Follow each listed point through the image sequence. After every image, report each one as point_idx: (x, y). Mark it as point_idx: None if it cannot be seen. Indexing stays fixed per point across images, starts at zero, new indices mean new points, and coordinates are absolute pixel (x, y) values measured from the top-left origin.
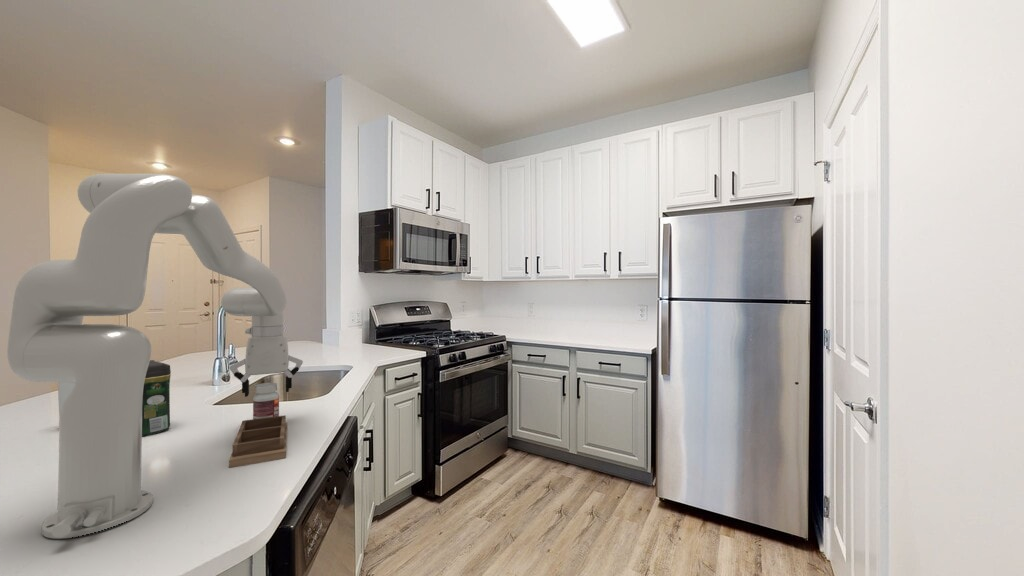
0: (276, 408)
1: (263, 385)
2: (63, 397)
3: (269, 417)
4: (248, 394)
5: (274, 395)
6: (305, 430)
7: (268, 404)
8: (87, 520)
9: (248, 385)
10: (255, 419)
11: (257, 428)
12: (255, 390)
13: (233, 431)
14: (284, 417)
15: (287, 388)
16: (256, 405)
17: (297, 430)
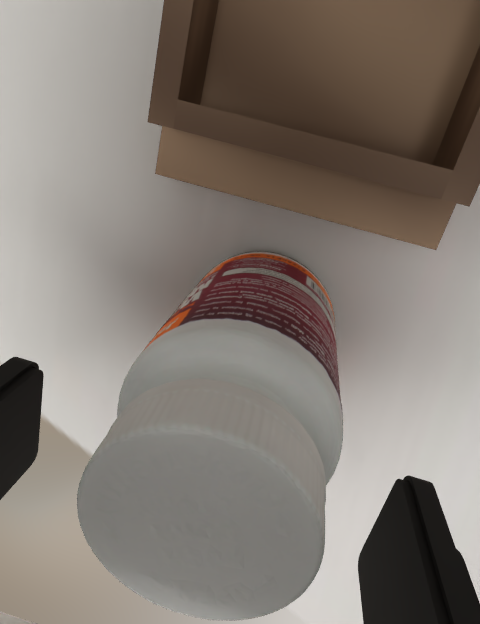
0: (183, 303)
1: (230, 529)
2: None
3: (269, 146)
4: (381, 516)
5: (159, 357)
6: (76, 20)
7: (237, 304)
8: None
9: (399, 619)
10: (376, 164)
11: (357, 145)
12: (324, 509)
13: (441, 337)
14: (165, 47)
15: (2, 377)
16: (327, 358)
17: (121, 62)
